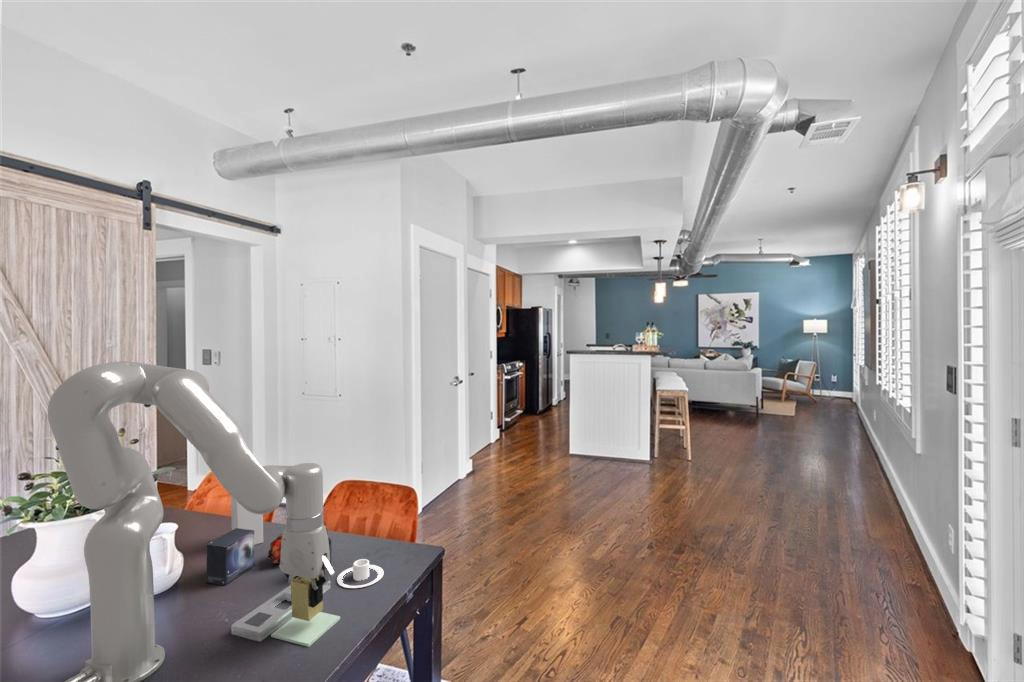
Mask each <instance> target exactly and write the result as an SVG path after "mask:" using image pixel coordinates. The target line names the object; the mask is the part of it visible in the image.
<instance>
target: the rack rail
mask: <svg viewBox="0 0 1024 682" xmlns="http://www.w3.org/2000/svg"><path fill="white" fill-rule="evenodd" d="M330 589H331V580H330V579H328V580H327V581H326V582H325V583H324V584H323V594H325V593H326V592H327V591H329V590H330ZM284 600H287V602H290V601H291V585H289V586H287V587H285V588H284V589H282V590H281V591H280V592H278V593H276V594H275V595H274V596H272V597H270V598H269V599H268V600H267V601H265V602H263V603H261V604H260V605H259V606H258V607H256V608H254V609H253V610H251V611H250V612H249V613H247V614H246V615H244V616H242V617H241V618H240V619H238V620H237V621H235V622H233V624H231V629H230V630H231V635H233V636H237V637H240V638H241V637H242V638H245V639H247V640H252V641H256V642H262V641H263V640H265V639H266V638H267V637H268V636H269V635H270V636H271V634H272V633H274V632H275V631H276V630H277V629H279V628H280V627H281V626H283V625H284V624H285V623H287V622H288V621H289V620H290V619H292V618H293V617H292V604H291V605H290V606H288V608H286V609H284V608H283V609H282V608H278V607H277V605H278V604H279V603H280V604H282V603H283V602H285V601H284ZM282 601H283V602H282ZM281 602H282V603H281ZM280 604H279V605H280ZM279 605H278V606H279ZM275 606H276V607H275Z"/></svg>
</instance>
